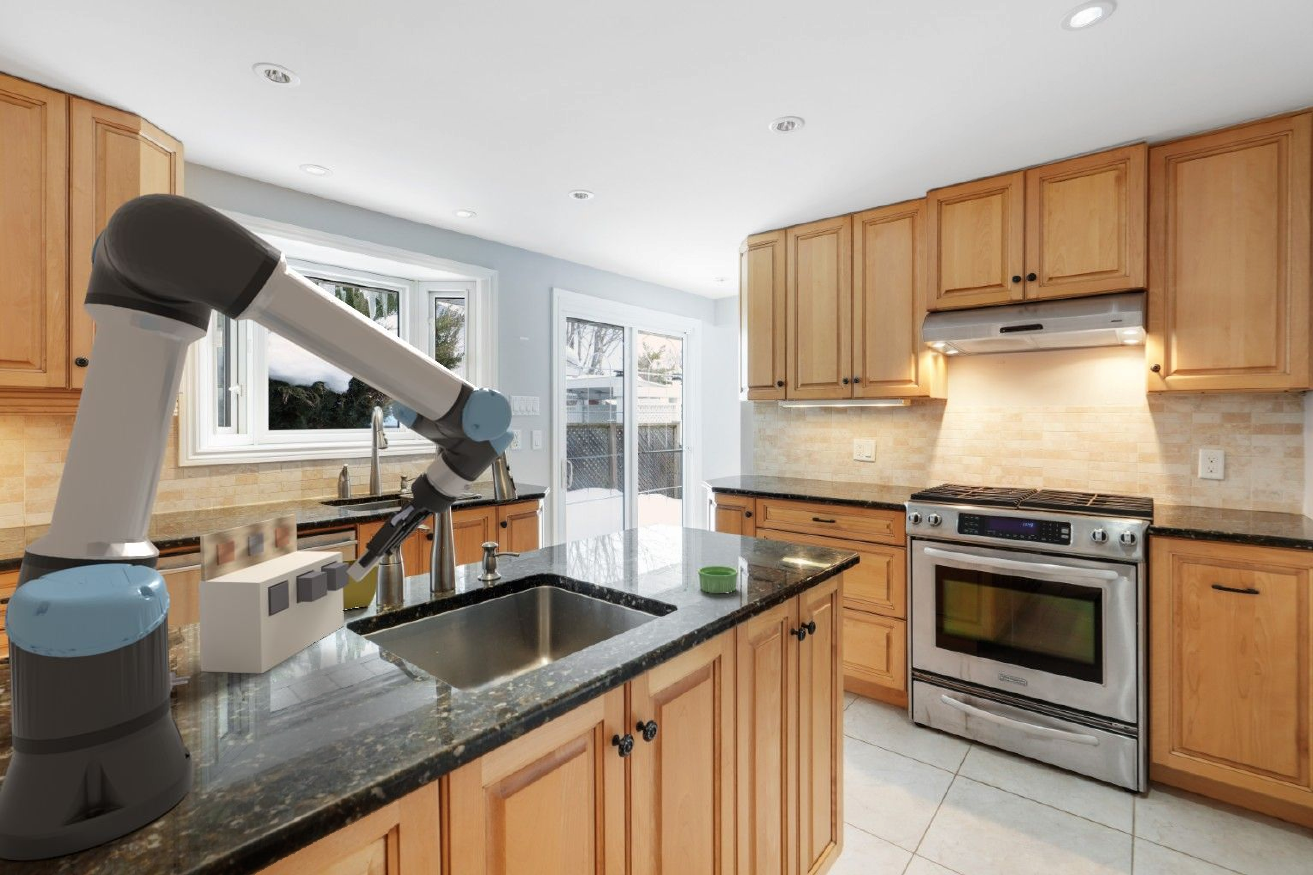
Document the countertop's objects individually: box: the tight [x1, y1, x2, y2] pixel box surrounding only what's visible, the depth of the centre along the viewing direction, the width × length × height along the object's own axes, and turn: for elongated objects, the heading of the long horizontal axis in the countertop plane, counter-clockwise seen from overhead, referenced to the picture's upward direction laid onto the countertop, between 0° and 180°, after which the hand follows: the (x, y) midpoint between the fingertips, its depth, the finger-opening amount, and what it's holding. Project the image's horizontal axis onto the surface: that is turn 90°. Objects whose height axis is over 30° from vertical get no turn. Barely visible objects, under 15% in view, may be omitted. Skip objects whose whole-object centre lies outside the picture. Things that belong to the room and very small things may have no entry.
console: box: [197, 550, 345, 675], centre depth 104 cm, size 21×10×14 cm, turn 175°
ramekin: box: [697, 565, 739, 594], centre depth 139 cm, size 9×9×4 cm
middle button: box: [296, 572, 327, 602], centre depth 104 cm, size 4×3×4 cm
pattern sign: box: [199, 513, 298, 581], centre depth 104 cm, size 21×1×7 cm, turn 175°
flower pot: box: [342, 558, 379, 610], centre depth 126 cm, size 9×9×9 cm
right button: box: [321, 563, 349, 591], centre depth 110 cm, size 4×3×4 cm
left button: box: [268, 582, 289, 614], centre depth 97 cm, size 4×3×4 cm
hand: (353, 575), depth 110 cm, fingers closed
